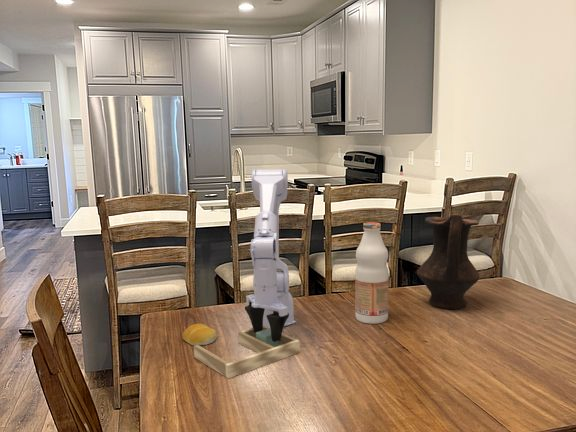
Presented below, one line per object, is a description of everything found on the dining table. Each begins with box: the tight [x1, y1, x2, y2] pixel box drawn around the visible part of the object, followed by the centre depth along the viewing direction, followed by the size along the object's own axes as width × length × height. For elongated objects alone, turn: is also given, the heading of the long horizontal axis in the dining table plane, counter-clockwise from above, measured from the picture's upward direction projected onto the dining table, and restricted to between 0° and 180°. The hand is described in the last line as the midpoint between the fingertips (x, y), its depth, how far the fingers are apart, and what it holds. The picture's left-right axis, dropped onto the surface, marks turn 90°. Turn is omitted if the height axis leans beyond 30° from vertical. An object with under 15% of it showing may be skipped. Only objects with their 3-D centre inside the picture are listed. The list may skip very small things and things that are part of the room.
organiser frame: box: [193, 325, 301, 379], centre depth 128 cm, size 21×15×3 cm
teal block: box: [256, 329, 279, 347], centre depth 132 cm, size 4×4×4 cm
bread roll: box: [182, 323, 218, 347], centre depth 138 cm, size 8×9×4 cm
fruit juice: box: [354, 221, 389, 325], centre depth 149 cm, size 9×9×28 cm
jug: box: [416, 213, 480, 310], centre depth 159 cm, size 21×18×30 cm
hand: (267, 336), depth 132 cm, fingers open, 7 cm apart
